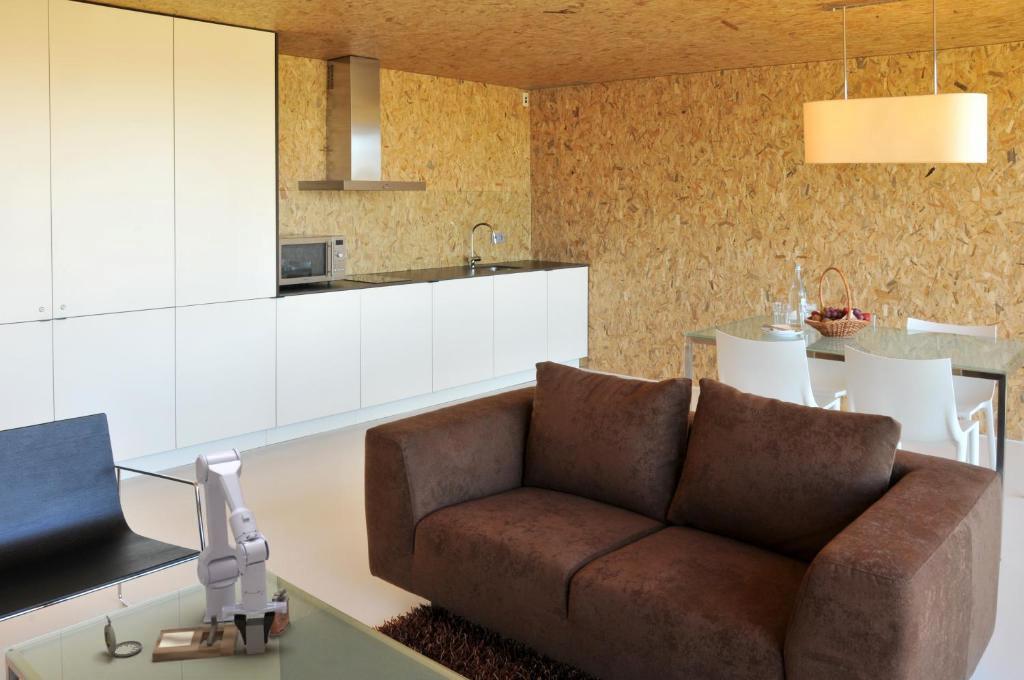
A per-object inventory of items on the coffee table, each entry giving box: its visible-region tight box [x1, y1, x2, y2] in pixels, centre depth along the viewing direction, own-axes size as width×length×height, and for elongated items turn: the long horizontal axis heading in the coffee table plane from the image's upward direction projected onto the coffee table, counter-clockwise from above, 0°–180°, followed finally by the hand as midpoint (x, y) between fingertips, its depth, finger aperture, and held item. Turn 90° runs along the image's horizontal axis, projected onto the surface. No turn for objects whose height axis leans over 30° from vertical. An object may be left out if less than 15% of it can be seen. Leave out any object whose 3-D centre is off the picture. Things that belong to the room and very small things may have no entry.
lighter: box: [268, 587, 291, 639], centre depth 236 cm, size 8×3×10 cm, turn 168°
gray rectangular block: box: [245, 616, 267, 655], centre depth 226 cm, size 4×4×7 cm
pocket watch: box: [103, 614, 143, 658], centre depth 224 cm, size 8×8×10 cm
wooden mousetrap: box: [151, 615, 239, 662], centre depth 228 cm, size 12×18×5 cm, turn 101°
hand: (256, 642), depth 227 cm, fingers closed on gray rectangular block, 4 cm apart
